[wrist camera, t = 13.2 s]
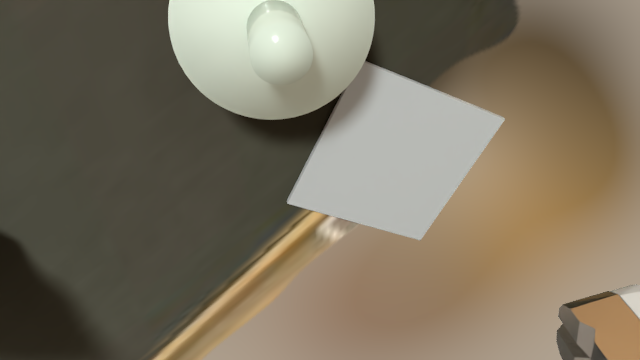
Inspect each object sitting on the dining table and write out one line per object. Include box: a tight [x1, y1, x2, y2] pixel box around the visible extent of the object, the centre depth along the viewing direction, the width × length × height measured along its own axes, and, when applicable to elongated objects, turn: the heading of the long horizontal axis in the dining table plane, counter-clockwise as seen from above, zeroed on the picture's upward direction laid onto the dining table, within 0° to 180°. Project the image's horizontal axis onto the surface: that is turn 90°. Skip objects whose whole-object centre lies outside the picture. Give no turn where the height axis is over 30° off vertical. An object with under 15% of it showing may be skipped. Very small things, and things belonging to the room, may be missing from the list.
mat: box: [287, 61, 505, 240], centre depth 41 cm, size 13×13×1 cm
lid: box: [168, 0, 375, 120], centre depth 27 cm, size 11×11×5 cm
